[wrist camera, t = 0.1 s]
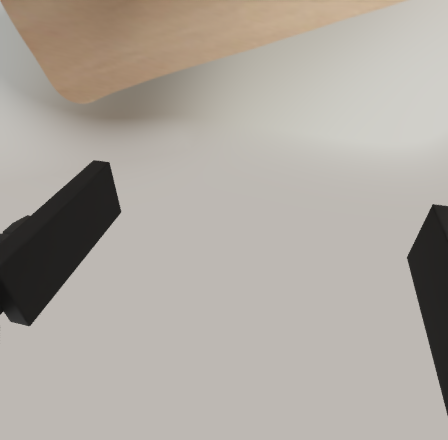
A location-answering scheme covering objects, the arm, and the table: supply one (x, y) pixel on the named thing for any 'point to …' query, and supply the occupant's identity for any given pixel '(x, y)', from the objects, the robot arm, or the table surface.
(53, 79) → the table surface
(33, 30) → the table surface
